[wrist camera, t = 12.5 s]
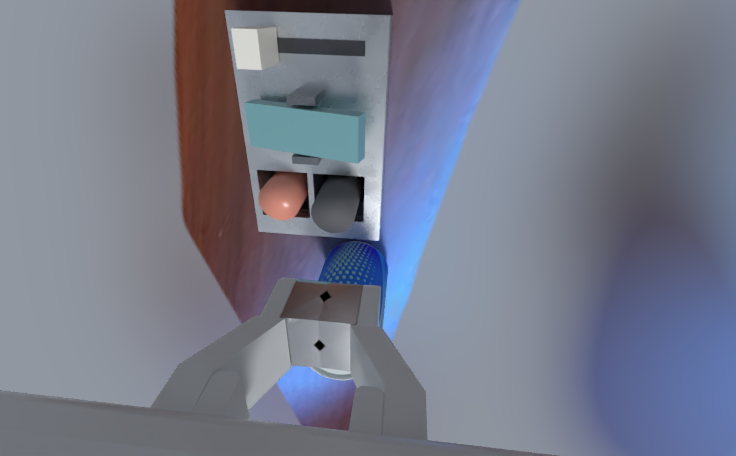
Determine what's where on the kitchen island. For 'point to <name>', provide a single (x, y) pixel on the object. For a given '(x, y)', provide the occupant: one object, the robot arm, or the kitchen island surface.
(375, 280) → the beer can
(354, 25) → the switch box
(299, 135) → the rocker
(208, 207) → the kitchen island surface
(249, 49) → the slider knob
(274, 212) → the pink rounded cylinder
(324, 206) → the black button
